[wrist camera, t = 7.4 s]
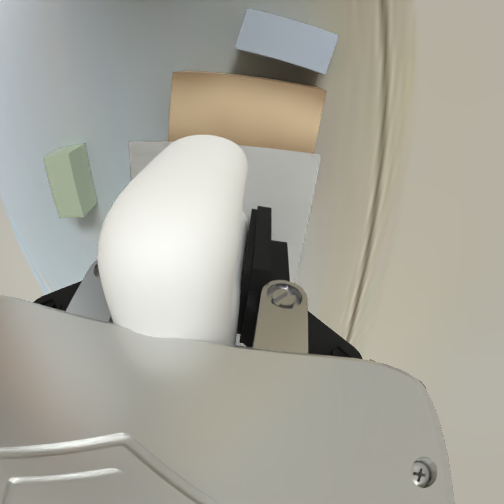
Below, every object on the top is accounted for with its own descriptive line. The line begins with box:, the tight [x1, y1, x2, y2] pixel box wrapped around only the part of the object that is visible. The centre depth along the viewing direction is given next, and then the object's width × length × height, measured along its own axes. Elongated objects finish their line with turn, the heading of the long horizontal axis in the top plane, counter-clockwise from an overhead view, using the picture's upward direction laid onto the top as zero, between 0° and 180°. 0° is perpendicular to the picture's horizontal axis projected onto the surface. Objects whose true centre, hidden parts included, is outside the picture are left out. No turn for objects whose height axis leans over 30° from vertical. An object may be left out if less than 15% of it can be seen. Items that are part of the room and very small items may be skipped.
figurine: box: [97, 135, 321, 345], centre depth 9 cm, size 7×9×15 cm
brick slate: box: [235, 8, 339, 74], centre depth 17 cm, size 6×3×3 cm, turn 75°
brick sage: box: [43, 143, 98, 218], centre depth 23 cm, size 6×3×3 cm, turn 0°
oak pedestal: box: [168, 71, 326, 154], centre depth 21 cm, size 11×10×3 cm
